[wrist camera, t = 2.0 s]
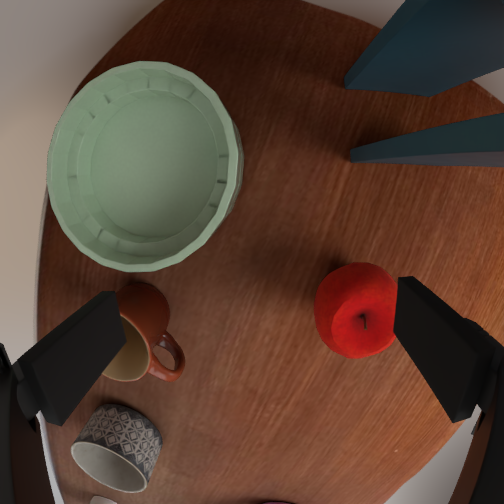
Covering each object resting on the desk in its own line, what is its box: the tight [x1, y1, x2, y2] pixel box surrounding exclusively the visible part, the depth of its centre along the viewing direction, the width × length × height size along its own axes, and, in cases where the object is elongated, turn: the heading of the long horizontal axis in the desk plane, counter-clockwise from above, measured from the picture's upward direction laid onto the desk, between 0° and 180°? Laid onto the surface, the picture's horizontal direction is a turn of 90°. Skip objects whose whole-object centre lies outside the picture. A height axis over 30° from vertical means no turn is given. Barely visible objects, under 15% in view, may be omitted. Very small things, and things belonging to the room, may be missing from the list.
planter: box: [71, 404, 162, 493], centre depth 39 cm, size 13×13×10 cm
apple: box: [314, 262, 398, 358], centre depth 30 cm, size 9×9×11 cm
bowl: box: [47, 61, 244, 272], centre depth 30 cm, size 21×21×7 cm
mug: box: [102, 283, 185, 382], centre depth 33 cm, size 12×9×10 cm
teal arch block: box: [344, 0, 504, 167], centre depth 17 cm, size 10×11×28 cm
